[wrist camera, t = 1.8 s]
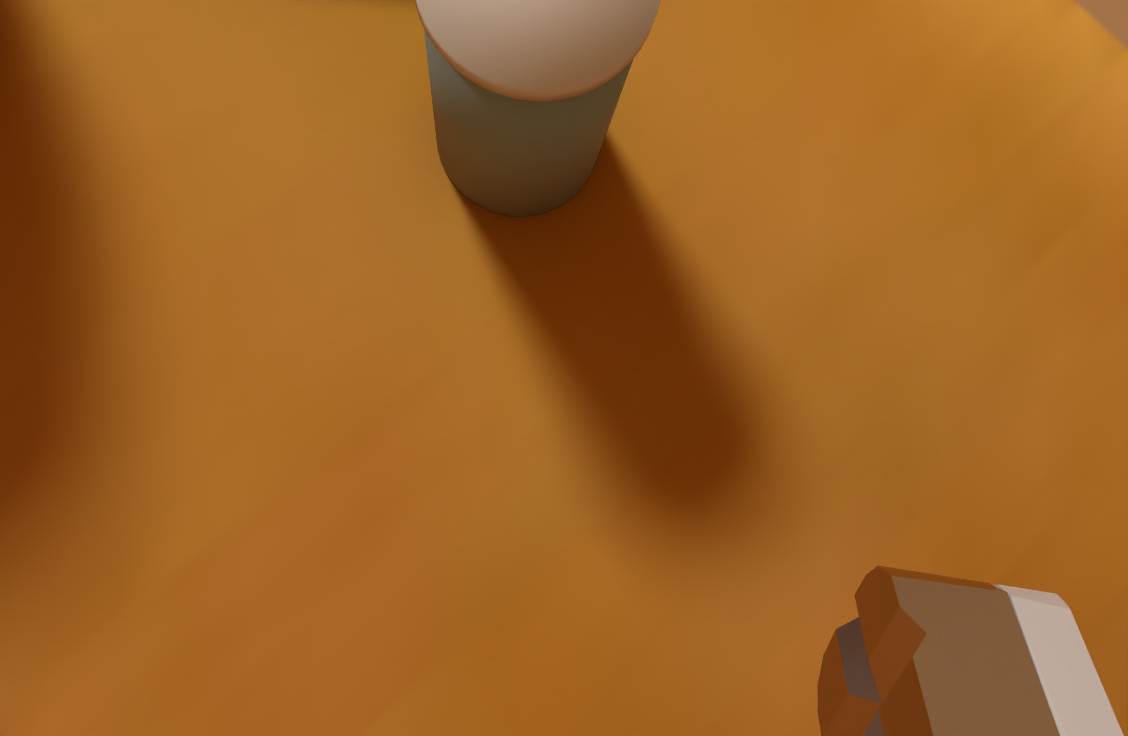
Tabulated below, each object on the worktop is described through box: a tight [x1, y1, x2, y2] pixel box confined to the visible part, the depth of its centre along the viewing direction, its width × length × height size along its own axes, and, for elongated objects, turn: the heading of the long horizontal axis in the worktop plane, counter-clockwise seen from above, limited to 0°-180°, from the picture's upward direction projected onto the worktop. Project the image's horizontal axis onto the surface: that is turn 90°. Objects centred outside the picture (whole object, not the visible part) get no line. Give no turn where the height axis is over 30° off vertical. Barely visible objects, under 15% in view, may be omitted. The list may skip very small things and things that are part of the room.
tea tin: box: [415, 0, 660, 216], centre depth 30 cm, size 6×6×12 cm
